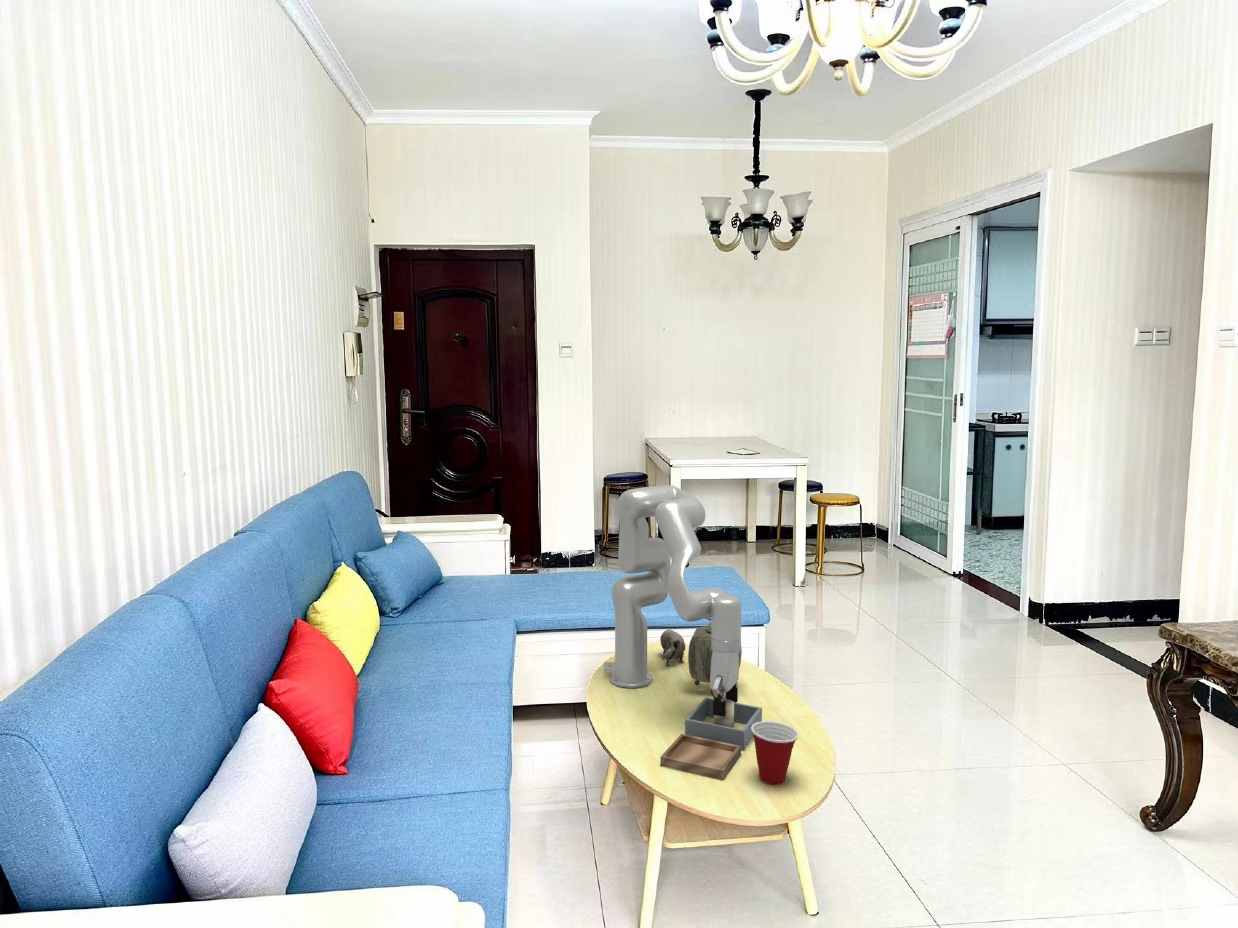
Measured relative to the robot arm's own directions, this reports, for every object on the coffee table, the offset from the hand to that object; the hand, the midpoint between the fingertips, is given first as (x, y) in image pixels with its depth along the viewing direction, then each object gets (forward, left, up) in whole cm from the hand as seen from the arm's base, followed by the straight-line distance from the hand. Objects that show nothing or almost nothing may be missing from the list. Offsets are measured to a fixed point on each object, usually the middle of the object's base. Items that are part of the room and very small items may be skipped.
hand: (725, 708), depth 219 cm
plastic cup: (+18, -18, -7) cm, 26 cm away
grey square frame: (0, 0, -7) cm, 7 cm away
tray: (0, -17, -7) cm, 18 cm away
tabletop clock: (-11, +24, -7) cm, 28 cm away
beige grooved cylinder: (0, 0, -7) cm, 7 cm away
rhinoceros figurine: (-31, +40, -7) cm, 51 cm away
